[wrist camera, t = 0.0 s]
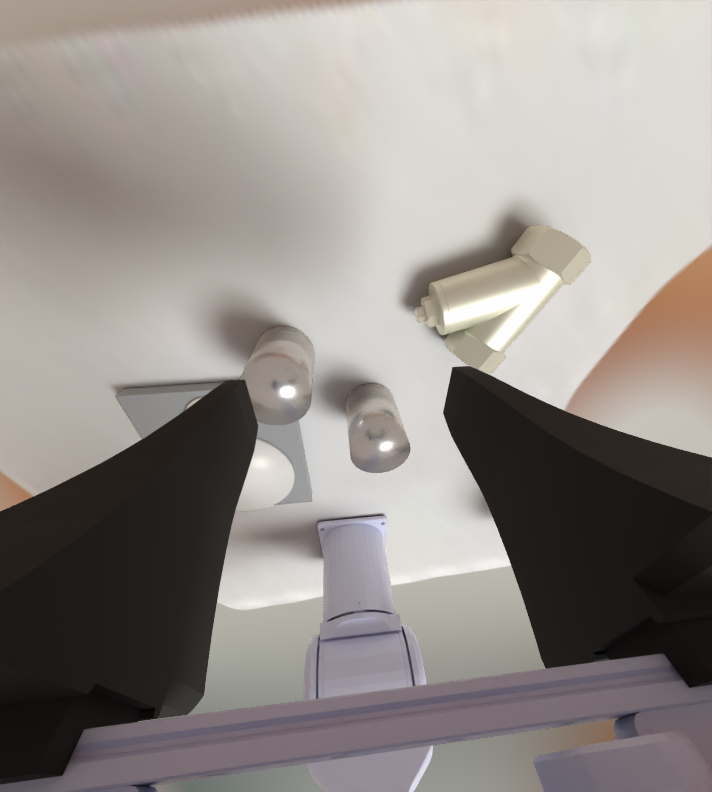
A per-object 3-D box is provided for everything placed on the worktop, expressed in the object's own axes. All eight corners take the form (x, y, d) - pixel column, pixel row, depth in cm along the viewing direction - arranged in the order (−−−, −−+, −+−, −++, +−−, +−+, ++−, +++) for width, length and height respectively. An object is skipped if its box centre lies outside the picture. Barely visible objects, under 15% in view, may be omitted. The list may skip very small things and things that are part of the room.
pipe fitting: (400, 316, 19) (474, 356, 21) (410, 335, 16) (496, 382, 18) (477, 191, 16) (558, 253, 18) (511, 184, 12) (606, 262, 14)
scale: (312, 493, 29) (311, 505, 28) (193, 503, 28) (187, 516, 27) (290, 377, 21) (288, 387, 20) (123, 388, 20) (111, 399, 19)
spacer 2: (392, 420, 24) (407, 470, 20) (346, 424, 24) (351, 475, 19) (395, 381, 22) (412, 427, 17) (344, 385, 22) (349, 432, 17)
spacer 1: (317, 375, 21) (314, 422, 16) (263, 379, 21) (246, 428, 16) (311, 324, 19) (306, 362, 14) (250, 327, 18) (226, 367, 14)
